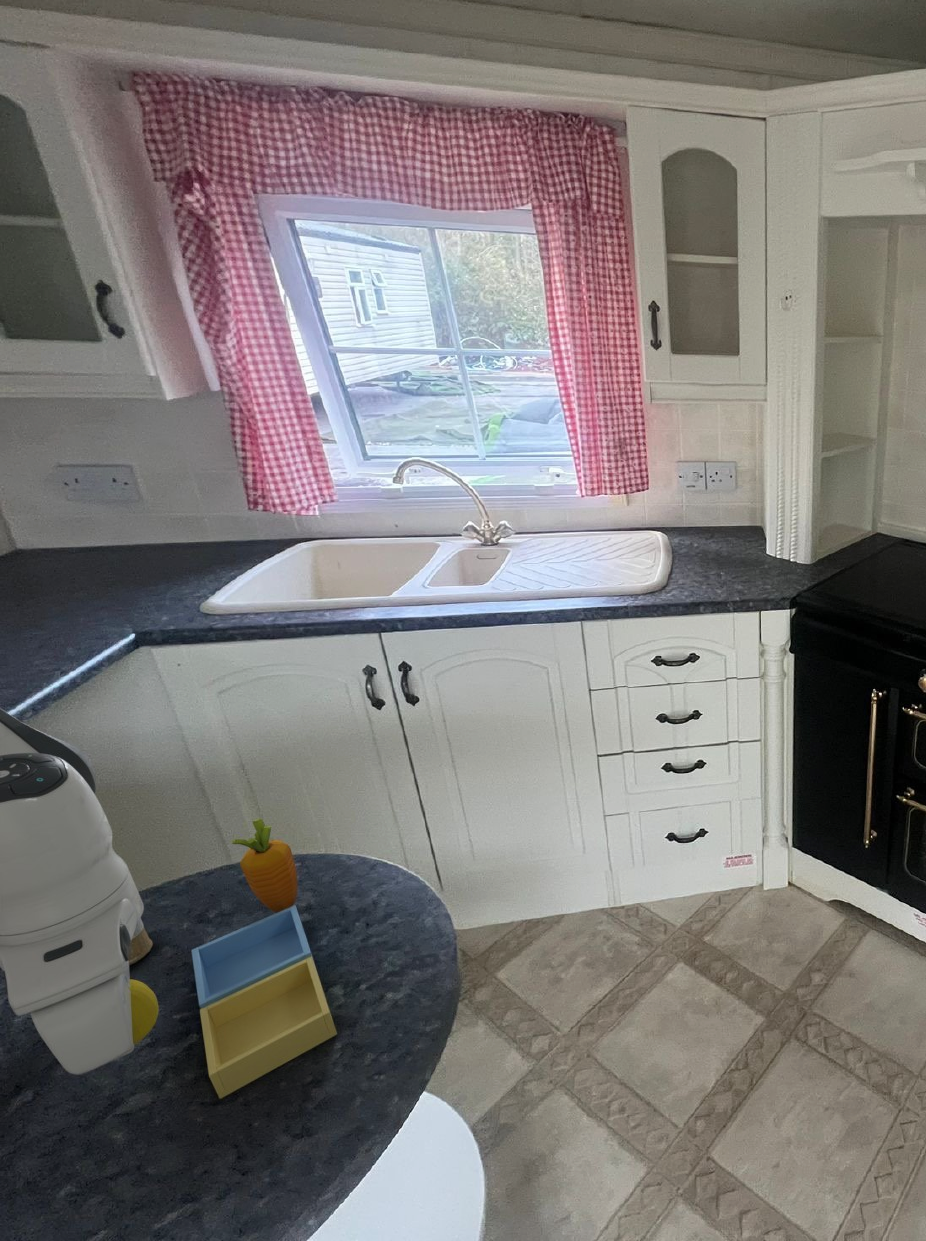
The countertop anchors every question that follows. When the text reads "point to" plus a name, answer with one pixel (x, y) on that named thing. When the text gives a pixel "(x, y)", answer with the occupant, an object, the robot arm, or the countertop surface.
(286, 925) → the blue bin
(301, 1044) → the yellow bin
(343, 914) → the countertop surface
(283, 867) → the carrot
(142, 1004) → the lemon
